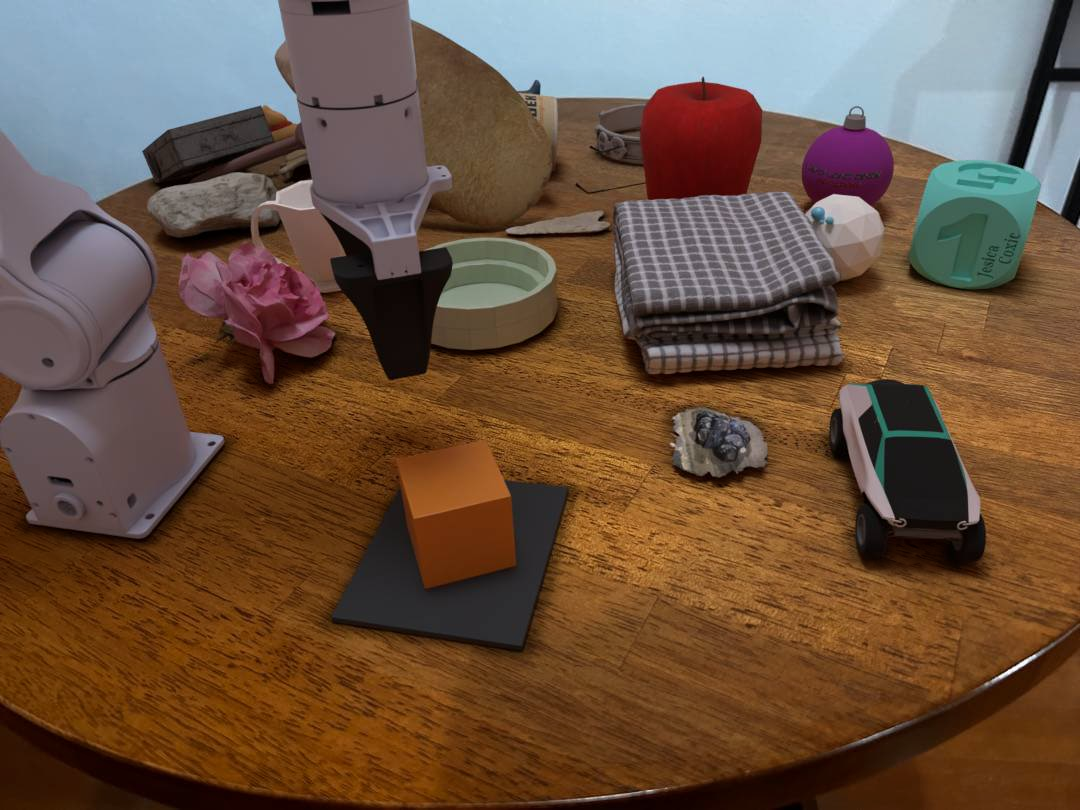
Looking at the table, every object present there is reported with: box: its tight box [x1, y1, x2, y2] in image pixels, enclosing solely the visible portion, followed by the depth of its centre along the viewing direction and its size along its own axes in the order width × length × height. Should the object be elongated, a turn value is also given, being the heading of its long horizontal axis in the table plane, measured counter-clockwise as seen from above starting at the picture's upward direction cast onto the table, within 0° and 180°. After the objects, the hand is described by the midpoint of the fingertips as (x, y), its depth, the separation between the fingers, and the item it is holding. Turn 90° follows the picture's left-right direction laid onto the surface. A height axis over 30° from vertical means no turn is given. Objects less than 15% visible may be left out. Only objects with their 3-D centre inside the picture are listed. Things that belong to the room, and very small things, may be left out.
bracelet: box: [594, 103, 647, 164], centre depth 100 cm, size 14×14×3 cm
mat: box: [330, 479, 569, 652], centre depth 48 cm, size 12×10×1 cm
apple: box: [639, 76, 763, 200], centre depth 79 cm, size 10×10×14 cm
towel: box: [612, 190, 845, 375], centre depth 66 cm, size 15×18×8 cm
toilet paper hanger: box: [189, 121, 306, 184], centre depth 93 cm, size 22×8×14 cm
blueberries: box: [669, 406, 769, 478], centre depth 55 cm, size 7×8×2 cm
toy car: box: [828, 378, 987, 563], centre depth 49 cm, size 6×12×5 cm, turn 174°
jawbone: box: [276, 149, 309, 181], centre depth 100 cm, size 9×20×2 cm, turn 118°
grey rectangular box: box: [141, 105, 274, 184], centre depth 93 cm, size 16×4×10 cm
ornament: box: [804, 194, 885, 282], centre depth 71 cm, size 7×7×8 cm
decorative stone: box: [146, 171, 282, 238], centre depth 85 cm, size 12×11×5 cm
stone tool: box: [505, 209, 612, 236], centre depth 83 cm, size 5×1×10 cm
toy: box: [261, 104, 305, 151], centre depth 104 cm, size 3×17×5 cm, turn 91°
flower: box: [178, 241, 336, 385], centre depth 65 cm, size 11×10×10 cm
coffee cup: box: [519, 93, 559, 172], centre depth 94 cm, size 9×9×12 cm
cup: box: [250, 179, 346, 294], centre depth 74 cm, size 7×10×8 cm
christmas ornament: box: [801, 105, 895, 207], centre depth 81 cm, size 8×8×10 cm
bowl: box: [422, 236, 559, 351], centre depth 69 cm, size 12×12×4 cm
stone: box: [274, 19, 553, 227], centre depth 85 cm, size 30×15×6 cm
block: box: [395, 439, 516, 589], centre depth 47 cm, size 5×5×5 cm
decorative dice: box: [908, 159, 1042, 290], centre depth 71 cm, size 8×8×8 cm
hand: (395, 338), depth 49 cm, fingers open, 7 cm apart
